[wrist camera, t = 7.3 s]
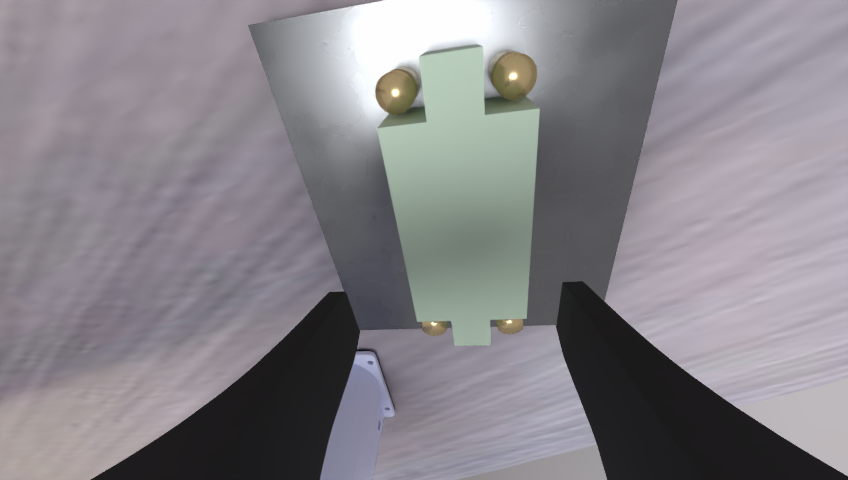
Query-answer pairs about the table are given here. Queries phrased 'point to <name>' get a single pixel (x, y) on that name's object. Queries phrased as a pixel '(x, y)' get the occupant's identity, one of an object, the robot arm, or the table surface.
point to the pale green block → (463, 195)
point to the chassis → (503, 76)
